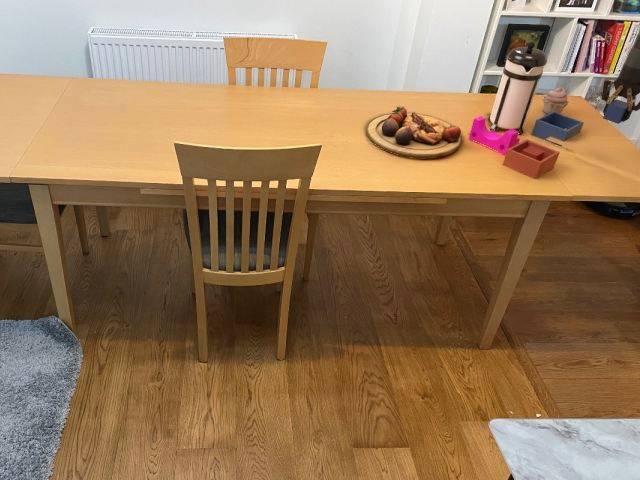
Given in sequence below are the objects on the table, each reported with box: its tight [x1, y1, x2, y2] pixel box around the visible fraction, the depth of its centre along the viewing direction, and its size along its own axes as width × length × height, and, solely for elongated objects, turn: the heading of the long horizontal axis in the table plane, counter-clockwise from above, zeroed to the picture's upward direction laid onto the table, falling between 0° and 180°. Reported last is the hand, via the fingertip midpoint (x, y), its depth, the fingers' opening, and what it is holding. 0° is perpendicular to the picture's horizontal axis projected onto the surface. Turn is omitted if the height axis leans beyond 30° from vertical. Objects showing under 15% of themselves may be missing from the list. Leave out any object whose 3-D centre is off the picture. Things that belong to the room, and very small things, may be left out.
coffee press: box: [488, 41, 548, 136], centre depth 204 cm, size 17×16×30 cm
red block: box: [521, 146, 545, 161], centre depth 188 cm, size 5×5×5 cm
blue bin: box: [530, 112, 585, 147], centre depth 206 cm, size 12×12×6 cm
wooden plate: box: [366, 106, 462, 159], centre depth 201 cm, size 32×32×8 cm
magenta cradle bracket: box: [468, 115, 521, 156], centre depth 199 cm, size 15×6×8 cm, turn 37°
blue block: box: [602, 98, 628, 125], centre depth 182 cm, size 5×5×5 cm
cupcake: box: [542, 86, 570, 115], centre depth 220 cm, size 9×9×10 cm
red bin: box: [502, 138, 561, 180], centre depth 188 cm, size 12×12×6 cm
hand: (614, 117), depth 184 cm, fingers closed on blue block, 5 cm apart
